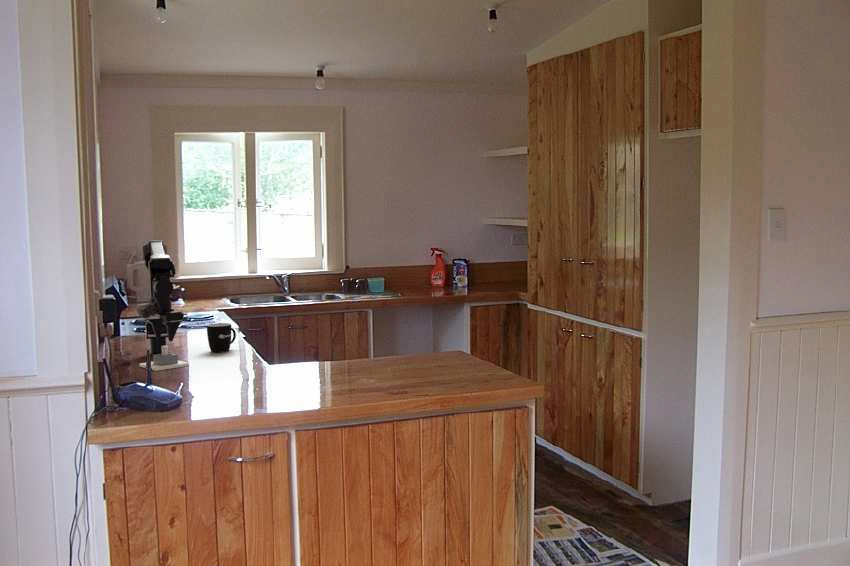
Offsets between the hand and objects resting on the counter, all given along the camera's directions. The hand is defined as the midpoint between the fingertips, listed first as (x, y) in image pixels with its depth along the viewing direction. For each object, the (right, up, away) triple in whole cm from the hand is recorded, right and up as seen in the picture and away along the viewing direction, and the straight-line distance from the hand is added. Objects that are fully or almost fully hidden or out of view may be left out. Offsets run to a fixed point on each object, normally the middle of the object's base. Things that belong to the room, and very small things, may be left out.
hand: (164, 340), depth 278 cm
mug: (+12, -6, +32) cm, 35 cm away
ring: (0, -8, +1) cm, 8 cm away
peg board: (-1, -9, +2) cm, 9 cm away
